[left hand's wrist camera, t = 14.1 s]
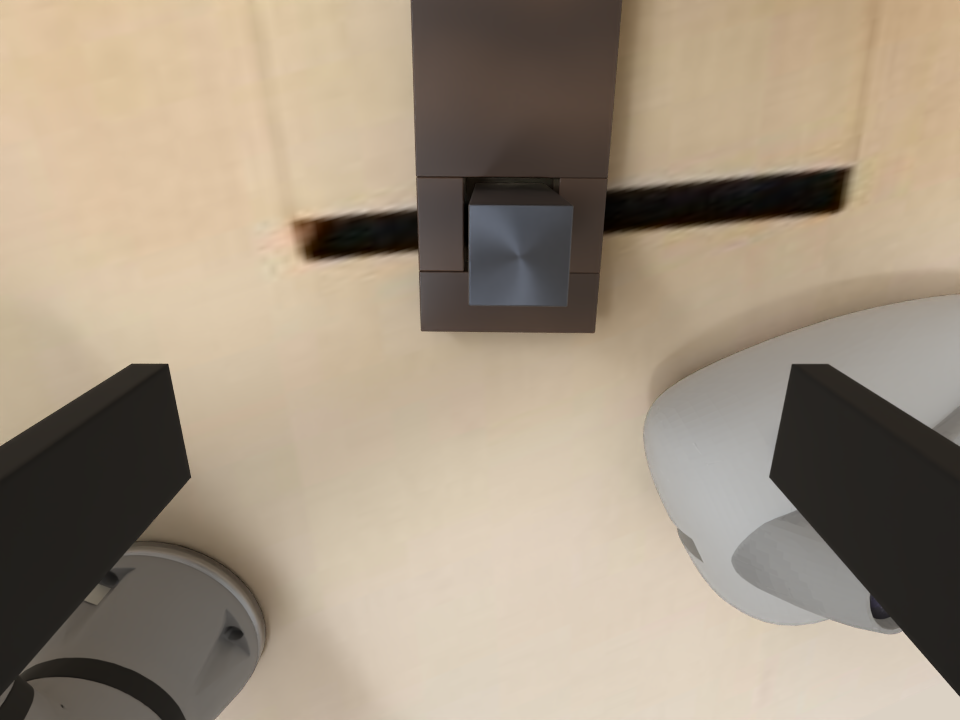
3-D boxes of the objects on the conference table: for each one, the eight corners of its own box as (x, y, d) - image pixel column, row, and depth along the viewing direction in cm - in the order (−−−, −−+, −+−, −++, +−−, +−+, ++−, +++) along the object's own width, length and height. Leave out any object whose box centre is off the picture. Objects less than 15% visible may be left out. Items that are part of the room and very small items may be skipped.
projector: (878, 588, 43) (1061, 798, 29) (583, 524, 41) (630, 715, 27) (1053, 308, 35) (1414, 416, 21) (698, 215, 33) (844, 267, 20)
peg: (541, 253, 34) (567, 307, 23) (475, 252, 35) (468, 306, 23) (545, 183, 33) (573, 205, 22) (475, 182, 33) (468, 203, 22)
